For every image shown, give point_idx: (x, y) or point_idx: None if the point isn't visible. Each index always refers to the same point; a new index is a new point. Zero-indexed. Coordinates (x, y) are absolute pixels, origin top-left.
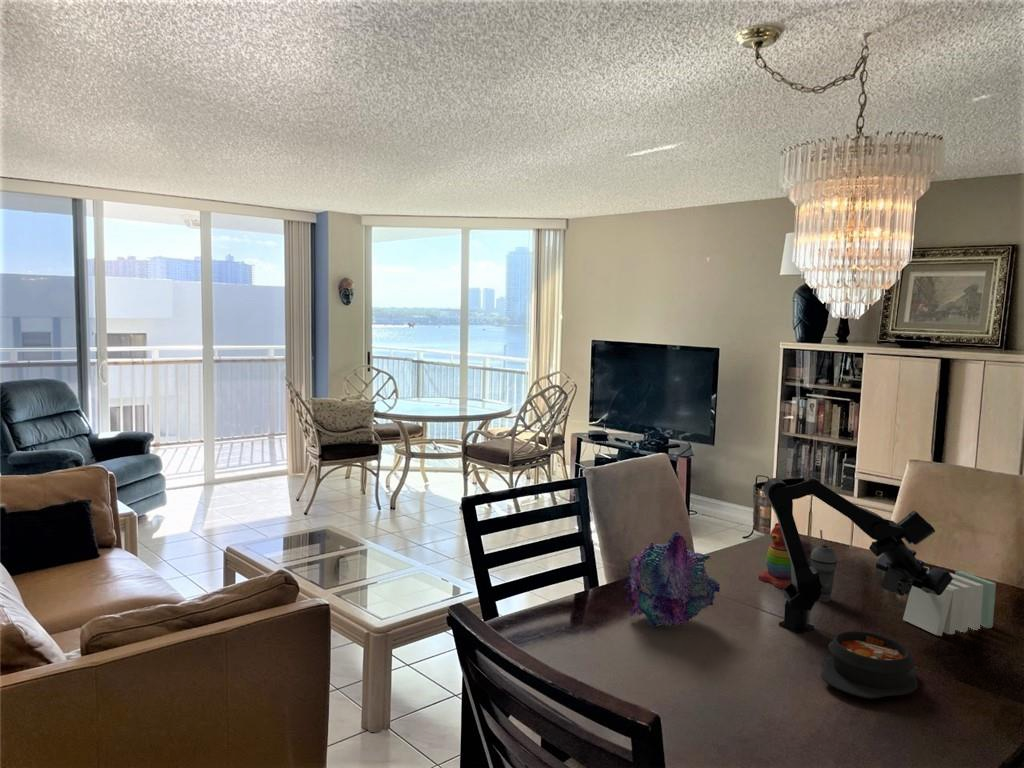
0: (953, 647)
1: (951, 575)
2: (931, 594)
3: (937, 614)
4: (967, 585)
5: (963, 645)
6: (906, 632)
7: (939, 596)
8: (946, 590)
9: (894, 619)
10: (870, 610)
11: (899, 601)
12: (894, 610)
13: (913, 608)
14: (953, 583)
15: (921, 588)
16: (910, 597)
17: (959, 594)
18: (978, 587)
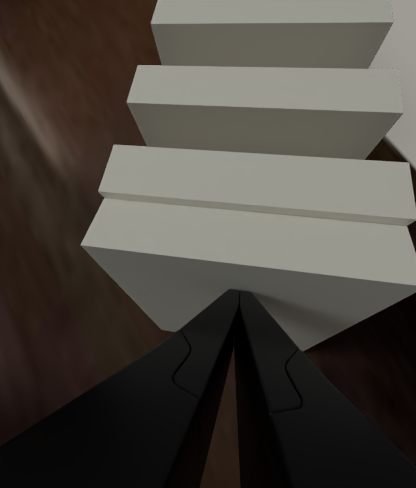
0: (389, 385)
1: (199, 16)
2: (262, 301)
3: (306, 333)
4: (311, 46)
5: (384, 329)
6: (230, 421)
7: (325, 307)
8: (405, 291)
9: (139, 341)
10: (53, 345)
11: (73, 187)
12: (99, 265)
13: (183, 321)
14: (305, 111)
15: (237, 391)
16: (145, 303)
17: (332, 154)
18: (385, 30)
